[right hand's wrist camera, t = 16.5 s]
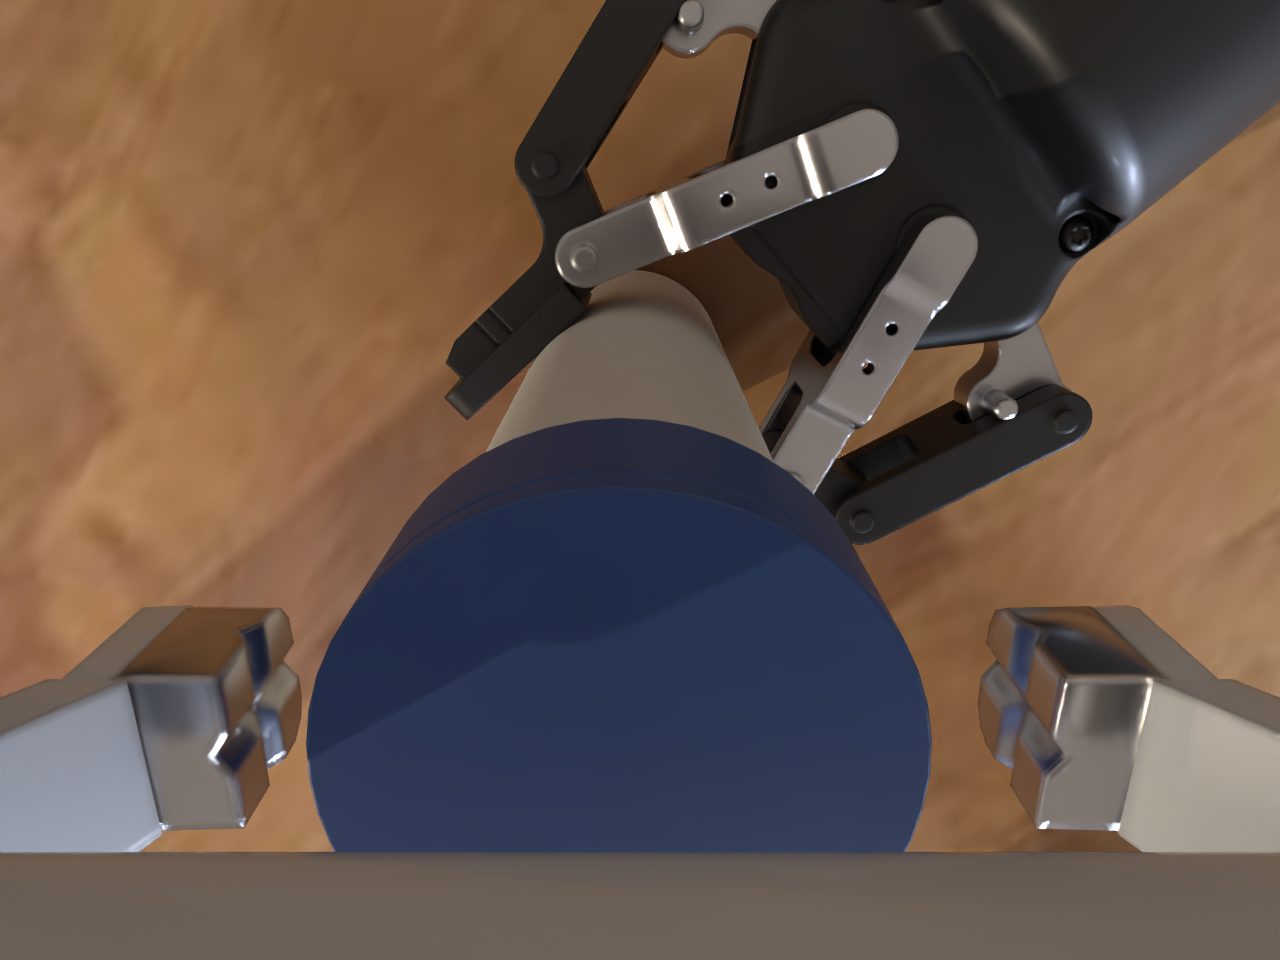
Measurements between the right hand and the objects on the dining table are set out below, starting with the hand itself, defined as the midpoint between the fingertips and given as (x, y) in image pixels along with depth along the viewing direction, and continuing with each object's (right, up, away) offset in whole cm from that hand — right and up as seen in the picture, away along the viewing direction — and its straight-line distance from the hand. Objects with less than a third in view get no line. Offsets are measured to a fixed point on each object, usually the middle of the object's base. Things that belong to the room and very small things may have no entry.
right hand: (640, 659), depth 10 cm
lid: (0, -1, -2) cm, 2 cm away
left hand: (-2, +2, +10) cm, 11 cm away
